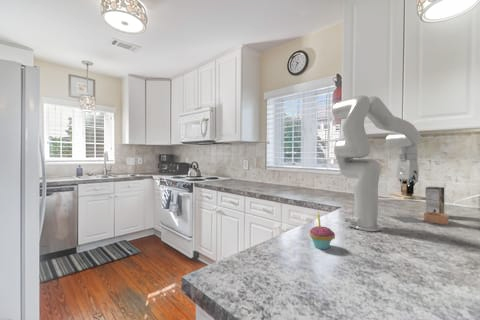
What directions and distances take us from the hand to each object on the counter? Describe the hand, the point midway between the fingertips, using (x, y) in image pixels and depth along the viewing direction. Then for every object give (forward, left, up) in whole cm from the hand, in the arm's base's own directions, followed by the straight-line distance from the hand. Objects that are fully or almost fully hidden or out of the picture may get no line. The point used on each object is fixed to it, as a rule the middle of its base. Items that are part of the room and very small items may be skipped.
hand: (407, 192), depth 117 cm
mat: (+1, 0, -14) cm, 14 cm away
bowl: (+13, -3, -14) cm, 19 cm away
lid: (0, 0, -3) cm, 3 cm away
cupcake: (-56, -38, -15) cm, 69 cm away
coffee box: (+23, +10, -15) cm, 29 cm away
